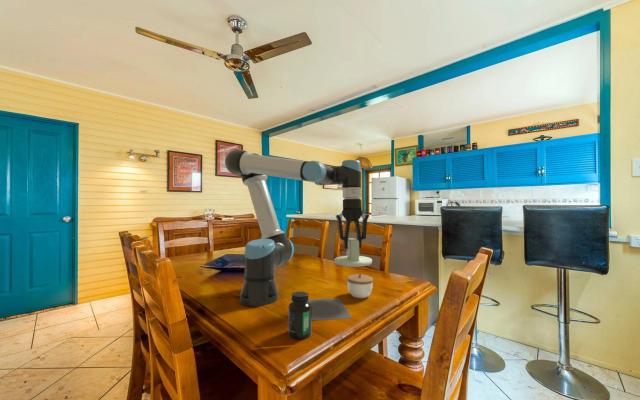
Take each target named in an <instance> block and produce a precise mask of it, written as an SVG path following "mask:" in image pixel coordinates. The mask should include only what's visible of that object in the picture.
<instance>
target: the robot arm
mask: <svg viewBox="0 0 640 400" xmlns="http://www.w3.org/2000/svg"><path fill="white" fill-rule="evenodd" d="M224 159H225V160H224V165H225V168H226V169H227V171H228V172H229V173H231V174H232V175H233V176H234V175H235V176H237V177H240V178H241V181H242V184H243V185H244V186H246V187H247V189H248V193H249V196H250V199H251V203H252V205H253V210H254V214H255V215H256V219H257V220H256V221H257V223H258V227H259V229H260V233H261V238H258V239H253V240H250V241H249V242H246V244H245V246H244V253H243V256H244V280H243V281H244V282H243V284H242V287H241V290H240V294H239V303H240V304H241V305H243V306H246V307H263V306H269V305H271V304H274V303H276V302H277V301H278V300H279V297H280V295H279V289H278V287H277V284H276V283H277V282H276V280H275V268H277V267H280V266H282V265H286V264H287V263H288V262H289V261H290V260H291V259H292V258H293V256H294V254H295V253H294V252H295V248H294V244H293V242H292V241H291V240H290V239H289V238H288V237H287V235H286V233H285V231H283V230H281V228H280V227H281V226H280V224H279V222H278V218H277V217H278V216H277V213H276V211H275V208H274V204H273V200H272V199H271V198H272V197H271V194H270V192H269V188H268V185H267V179H268V176H271V177H277V178H278V177H279V178H282V179H283V178H285V179H292V180H297V181H298V180H299V181H304V182H311V183H314V184H315V185H316V186H330V185H332V186H333V185H342V188H341V189H342V198H343V199H342V211H341V213H339V214H336V215H335V218H336V220H337V227H338V228H337V229H338V236H339V237H338V238H339V239H340V240H342V241H343V244H344V245H343V248H344V249H345V250H346V256H347V257H348V258H350V241H348V238H349V235H350V234H349V233H350V228H351V222H353V223H354V227H355V233H356V239H357V240H359V250H361V249H362V241H363V240H366V239H367V229H368V220H369V218H370V215H369V214H366V213H364V212H363V210H362V206H363V205H362V199H361V198H362V168H361V162H360V160H359V159H358V160H357V159H345V160H342V162H341V165H338V166H329V165H328V164H327V165H326V164H324V163H322V162H320V161H319V160H318V161H317V160H310V161H309V160H303V159H302V160H300V159H292V158H284V157H279V156H278V157H277V156H269V155H262V154H261V155H260V154H258V153H253V152H251V151H247V150H243V149H240V148H237V149H232V150H230V151H229V152H228V153H226V155H225V158H224ZM343 218H344V219H345V226H344V227H345V228H344V229H343V220H342V219H343ZM360 218H362V221H361V222H362V223H361V226H362V227H361V226H360ZM360 227H361V228H360ZM343 230H344V231H343Z"/></svg>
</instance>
